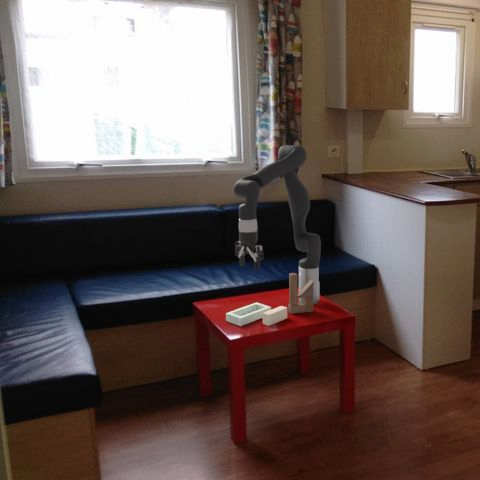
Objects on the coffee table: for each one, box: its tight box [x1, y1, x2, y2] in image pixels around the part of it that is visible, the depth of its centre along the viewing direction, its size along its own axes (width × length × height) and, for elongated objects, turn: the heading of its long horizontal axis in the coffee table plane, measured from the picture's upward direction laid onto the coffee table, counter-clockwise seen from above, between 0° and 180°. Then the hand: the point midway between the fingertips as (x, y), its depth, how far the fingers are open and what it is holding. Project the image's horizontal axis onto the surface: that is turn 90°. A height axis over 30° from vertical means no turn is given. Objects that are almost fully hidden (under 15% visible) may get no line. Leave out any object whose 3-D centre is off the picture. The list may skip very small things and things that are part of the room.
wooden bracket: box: [287, 272, 314, 314], centre depth 237 cm, size 4×11×18 cm, turn 102°
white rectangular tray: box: [225, 302, 272, 327], centre depth 233 cm, size 19×9×4 cm, turn 134°
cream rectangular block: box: [262, 305, 288, 326], centre depth 229 cm, size 12×4×5 cm, turn 134°
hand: (249, 267), depth 219 cm, fingers open, 8 cm apart
